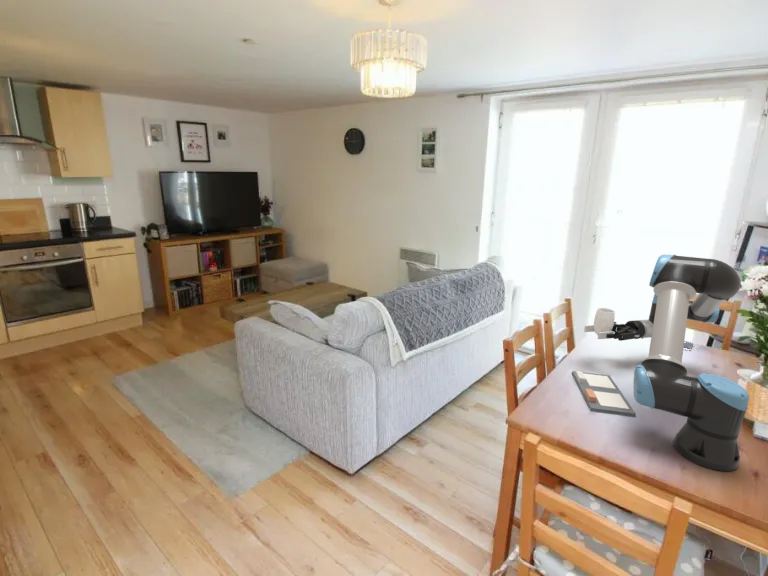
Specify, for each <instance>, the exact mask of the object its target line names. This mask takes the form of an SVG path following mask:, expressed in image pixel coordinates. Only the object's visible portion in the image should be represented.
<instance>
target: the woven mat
mask: <svg viewBox="0 0 768 576" xmlns="http://www.w3.org/2000/svg"><path fill="white" fill-rule="evenodd" d="M684 342H686V343H684V348H687V349H691V347H692V348H694V346H692V345H694V343H693V342H691V341H687V340H684ZM691 350H692V349H691Z"/></svg>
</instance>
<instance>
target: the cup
mask: <svg viewBox="0 0 768 576" xmlns="http://www.w3.org/2000/svg"><path fill="white" fill-rule="evenodd" d="M615 317H616V315H615V310H614V309H611V308H608V307H598V308H597V310H596V313H595V316H594V318H593V321H594V322H593V325H594V331H595V332H594V333H595V334H596V336H598V333H599V332H610V331H612V328H613V325H614V322H615Z"/></svg>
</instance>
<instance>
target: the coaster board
mask: <svg viewBox="0 0 768 576" xmlns="http://www.w3.org/2000/svg"><path fill="white" fill-rule="evenodd" d="M572 374H573V375H572ZM571 375H572V378H573V379H574V380H575V383H576V385H577V387H578V389H579V390H580V392H581V395H582V397H583V398H584V401H585V402H586V404H587V407H588V409H589V408H590V409H589V410H591V412H594V411H595V412H596V413H604V414H612V415H618V416H619V415H620V416H627V417H635V418H636V416H637V412H636V411H635V410H634V408H633V407H632V405H631V404H630V402H629V401H628V400H627V398H626V396H624V394H623V392H622V391H621V390H620V388H619V387H618V385H617V384H616V382H615V381H614V379H613V378H612V376H611V375H610V374H602V373H601V374H600V373H593V372H592V373H591V372H583V371H578V370H575V371H574V370H572V371H571Z"/></svg>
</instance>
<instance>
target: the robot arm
mask: <svg viewBox="0 0 768 576" xmlns="http://www.w3.org/2000/svg"><path fill="white" fill-rule="evenodd" d="M648 283H649V284H648V286H650V287H651V288H653V293H654V294H653V298H652V300H651V306H650V307H651V308H650V312H649V316H648V319H638V320H636V319H635V320H628V321H627V322H626V323H619V324H618V323H617V321H614V325H613V328H612V331H610V332H599V333H598V335H597V340H606V339H608V340H609V339H615V340H618V341H621V342H622V341H628V340H633V339H634V340H639V339H646V338H650V344H649V350H648V356H647V358H644V359H642V360H641V364H636V365H635V367H634V371H633V372H634V376H633V397H634V400H635V402H636V403H637V404H639V405H642V406H645V407H648V408H650V409H656V410H659V411H663V412H667V413H671V414H675V415H678V416H681V417H686V418H687V419H686V422H685V424H684V425H683V426H681V428H680V429H679V431H678V432H677V433H676V434H675V436H674V440H673V446H674V448H675V449H676V451H677V452H678V453H679V454H680V455H682V456H683V457H684V458H686V459H688V460H690V462H693V463H695V464H697V465H699V466H702V467H704V468H707V469H711V470H714V471H720V472H731V471H735V470H736V469H738V467H739V464H740V460H741V457H740V451H739V450H740V449H739V444H738V442H739V441H738V438H739V435H740V431H741V428H742V426H743V425H742V424H743V421H744V418H745V415H746V413H747V411H748V408H749V407H748V405H749V400H750V395H749V392H748V391H747V389H745V388H743V386H741V385H740V384H738V383H736V382H735V381H733V380H731V379H729V378H726V377H723V376H721V375H718V374H714V373H709V372H708V373H705V372H703V373H700V374H698V376H697V377H693V376H689V375H687V374H688V369H687V367H686V366H685V365H684V364H683V363H682V362H683V354H684V350H683V348H684V341H685V339H686V330H687V322H688V320H691V321H697V322H702V323H709V324H714V323H716V322H717V320H718V319H719V316H720V306H721V305H723V303H724V302H725V301H726V300H730V299H731V298H734V297H735V295H736V294H737V293H738V292H739V290H740V288H741V284H742V283H741V278H740V275H739V273H738V272H737V271H736V270H735V268H733V267H732V266H731V265H730V264H728V263H727V262H724V261H722V260H719V259H714V258H705V257H704V258H703V257H694V256H686V255H685V256H683V255H677V254H661V255H659V257H658V258H657V260H656V263H655V265H654V268H653V272H652V274H651V276H650V280H649V282H648ZM696 295H697V296H696ZM693 298H694V300H691V299H693ZM583 331H584V333H591V332H592V333H593V332H594V333H595V331H594V324H586V325H584V329H583Z"/></svg>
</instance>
